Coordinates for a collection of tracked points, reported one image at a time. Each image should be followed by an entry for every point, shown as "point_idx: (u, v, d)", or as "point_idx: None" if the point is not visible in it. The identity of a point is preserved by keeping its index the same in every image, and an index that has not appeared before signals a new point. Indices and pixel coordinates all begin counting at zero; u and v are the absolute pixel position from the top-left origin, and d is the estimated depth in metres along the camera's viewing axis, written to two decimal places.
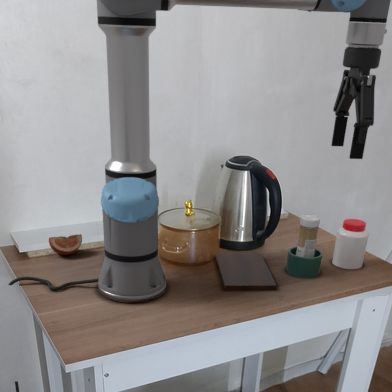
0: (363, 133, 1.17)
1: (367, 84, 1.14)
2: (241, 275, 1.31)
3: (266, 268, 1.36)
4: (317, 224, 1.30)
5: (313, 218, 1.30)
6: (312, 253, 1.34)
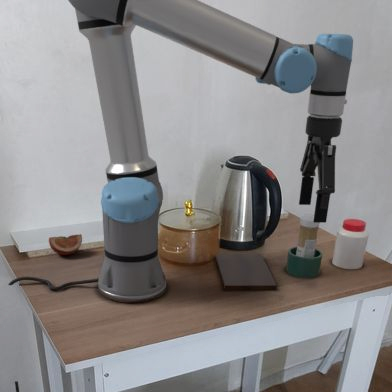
0: (325, 199, 1.21)
1: (328, 154, 1.17)
2: (241, 275, 1.31)
3: (266, 268, 1.36)
4: (317, 224, 1.30)
5: (313, 218, 1.30)
6: (312, 253, 1.34)
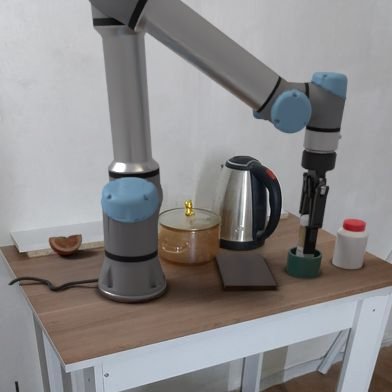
0: (314, 234, 1.29)
1: (320, 194, 1.22)
2: (241, 275, 1.31)
3: (266, 268, 1.36)
4: None
5: None
6: None
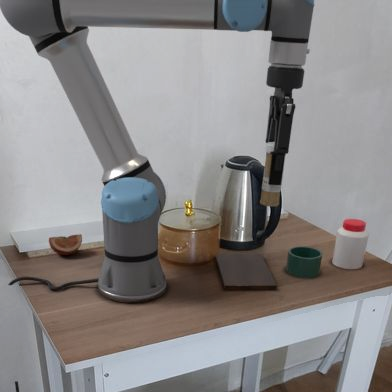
0: (279, 160, 1.19)
1: (286, 113, 1.12)
2: (241, 275, 1.31)
3: (266, 268, 1.36)
4: None
5: None
6: None
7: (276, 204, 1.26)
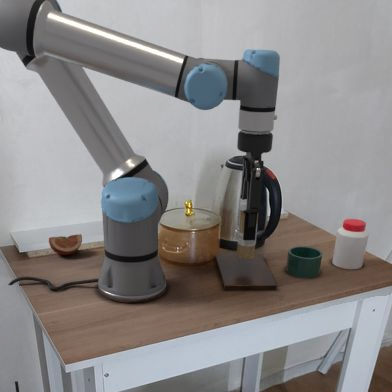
0: (252, 218, 1.25)
1: (255, 177, 1.18)
2: (241, 275, 1.31)
3: (266, 268, 1.36)
4: None
5: None
6: None
7: (251, 257, 1.32)
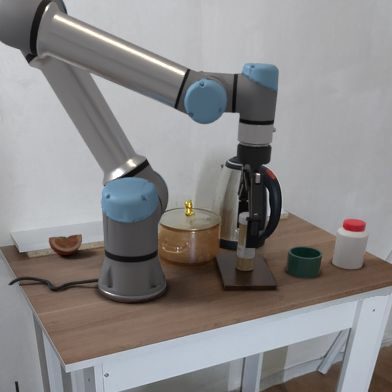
0: (255, 226, 1.21)
1: (255, 182, 1.18)
2: (241, 275, 1.31)
3: (266, 268, 1.36)
4: None
5: None
6: (252, 251, 1.31)
7: (250, 269, 1.34)
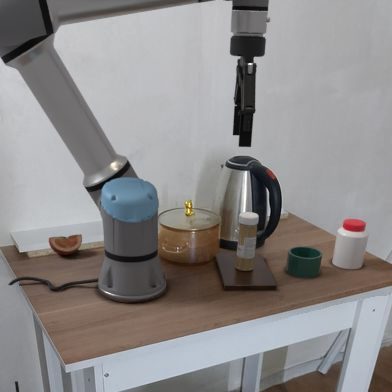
0: (248, 121, 1.18)
1: (248, 72, 1.14)
2: (241, 275, 1.31)
3: (266, 268, 1.36)
4: (255, 222, 1.28)
5: (251, 216, 1.27)
6: (252, 251, 1.31)
7: (250, 269, 1.34)
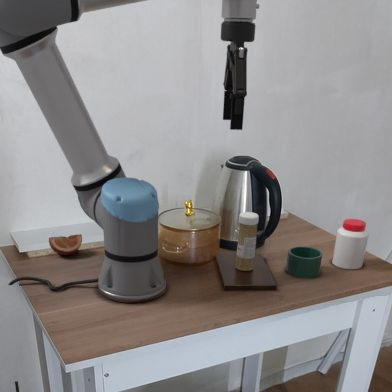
0: (239, 104, 1.22)
1: (239, 56, 1.19)
2: (241, 275, 1.31)
3: (266, 268, 1.36)
4: (255, 222, 1.28)
5: (251, 216, 1.27)
6: (252, 251, 1.31)
7: (250, 269, 1.34)
